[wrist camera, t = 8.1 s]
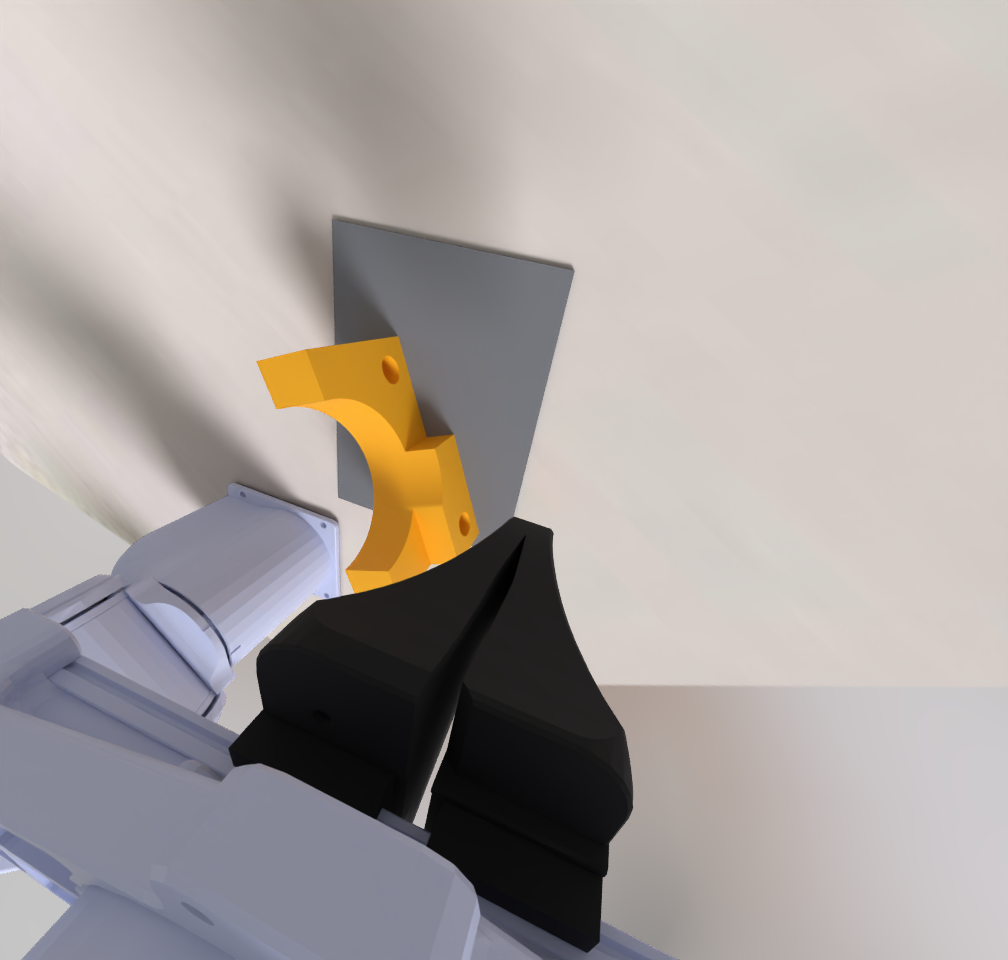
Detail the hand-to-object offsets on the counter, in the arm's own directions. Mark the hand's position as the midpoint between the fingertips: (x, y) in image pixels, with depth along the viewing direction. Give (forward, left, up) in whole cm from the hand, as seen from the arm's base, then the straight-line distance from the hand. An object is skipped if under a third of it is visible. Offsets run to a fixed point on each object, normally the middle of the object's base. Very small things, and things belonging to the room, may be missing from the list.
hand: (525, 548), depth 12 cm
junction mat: (-8, 0, -9) cm, 12 cm away
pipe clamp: (-8, -2, -9) cm, 12 cm away
